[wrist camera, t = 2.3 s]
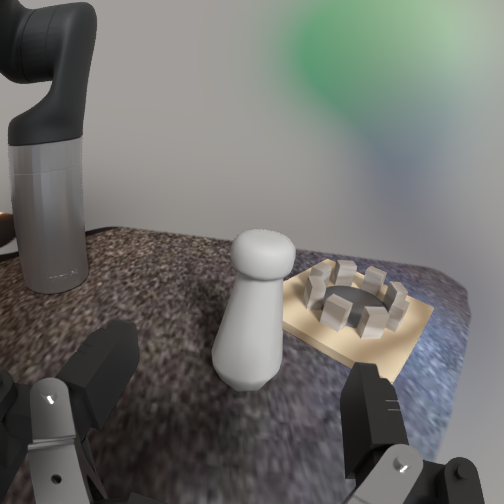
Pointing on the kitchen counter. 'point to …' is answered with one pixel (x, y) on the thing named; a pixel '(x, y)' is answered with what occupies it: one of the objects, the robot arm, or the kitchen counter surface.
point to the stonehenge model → (354, 315)
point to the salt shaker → (254, 311)
